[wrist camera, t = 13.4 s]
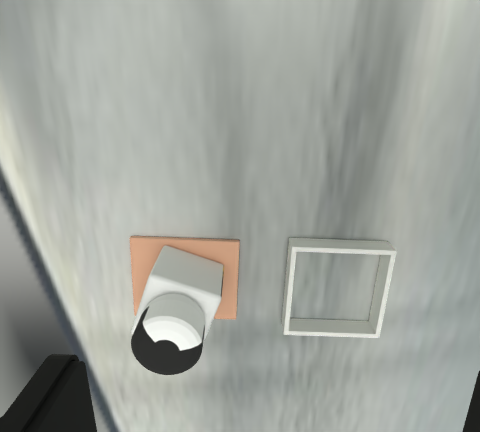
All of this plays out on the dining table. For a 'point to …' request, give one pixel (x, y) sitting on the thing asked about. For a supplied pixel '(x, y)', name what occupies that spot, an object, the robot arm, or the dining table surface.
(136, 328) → the medicine bottle
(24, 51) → the dining table surface
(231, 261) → the coaster
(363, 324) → the parts bin
